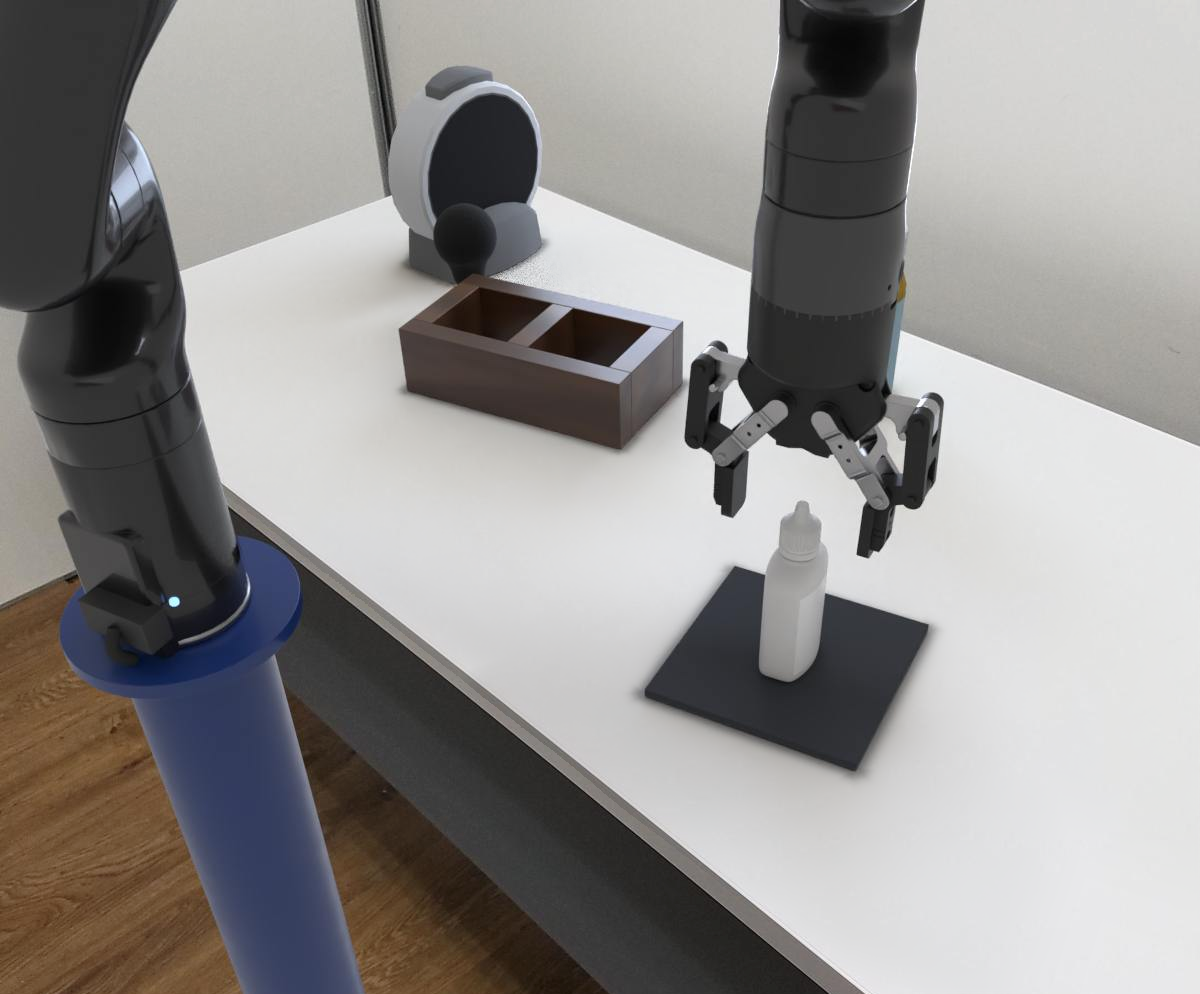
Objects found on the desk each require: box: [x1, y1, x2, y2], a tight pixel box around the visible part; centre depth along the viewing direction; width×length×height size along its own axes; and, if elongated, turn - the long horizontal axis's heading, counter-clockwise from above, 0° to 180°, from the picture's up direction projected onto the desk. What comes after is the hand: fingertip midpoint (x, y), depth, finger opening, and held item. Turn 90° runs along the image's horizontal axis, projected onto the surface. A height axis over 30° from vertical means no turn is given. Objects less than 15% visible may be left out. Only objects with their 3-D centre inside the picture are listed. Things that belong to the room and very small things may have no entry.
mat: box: [644, 565, 930, 771], centre depth 81 cm, size 14×14×1 cm
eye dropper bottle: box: [759, 500, 829, 682], centre depth 77 cm, size 4×6×12 cm
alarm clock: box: [387, 65, 543, 285], centre depth 124 cm, size 16×10×18 cm, turn 136°
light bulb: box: [433, 203, 497, 286], centre depth 118 cm, size 6×6×10 cm
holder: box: [397, 274, 684, 450], centre depth 107 cm, size 12×21×6 cm, turn 61°
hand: (799, 529), depth 75 cm, fingers open, 8 cm apart
